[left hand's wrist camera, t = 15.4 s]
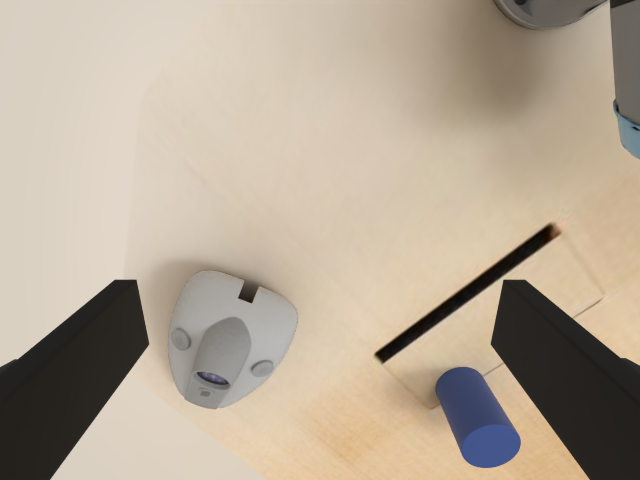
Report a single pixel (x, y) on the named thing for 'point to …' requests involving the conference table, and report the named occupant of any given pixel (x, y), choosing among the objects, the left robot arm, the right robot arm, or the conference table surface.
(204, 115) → the conference table surface
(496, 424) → the canister
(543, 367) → the left robot arm
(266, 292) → the projector
